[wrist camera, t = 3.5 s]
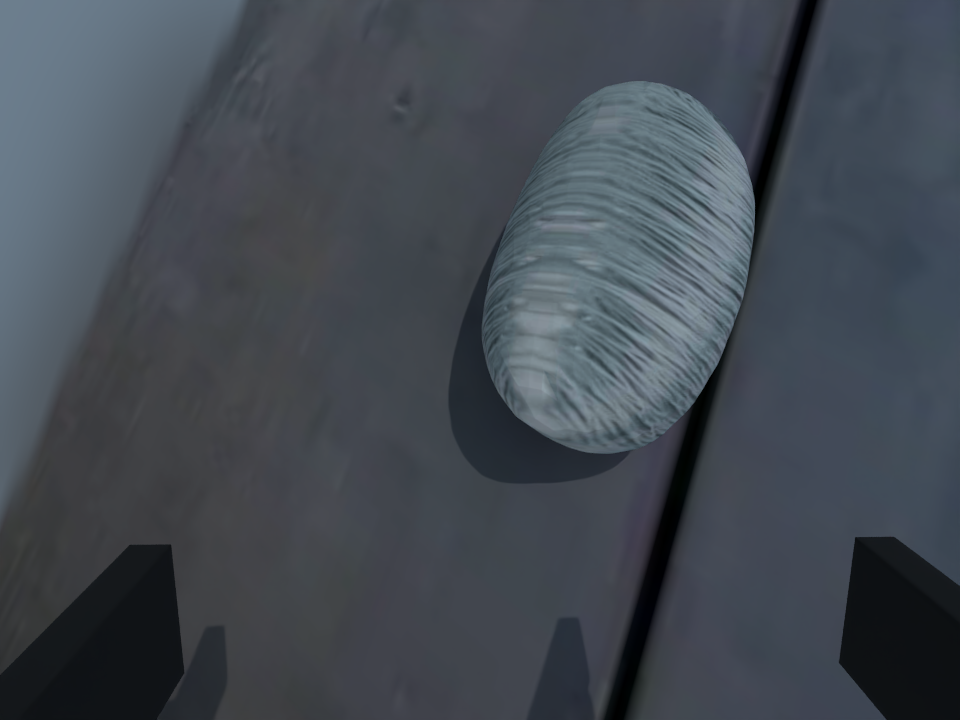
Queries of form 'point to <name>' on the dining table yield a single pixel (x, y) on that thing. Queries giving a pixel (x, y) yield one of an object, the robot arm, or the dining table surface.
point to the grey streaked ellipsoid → (620, 269)
